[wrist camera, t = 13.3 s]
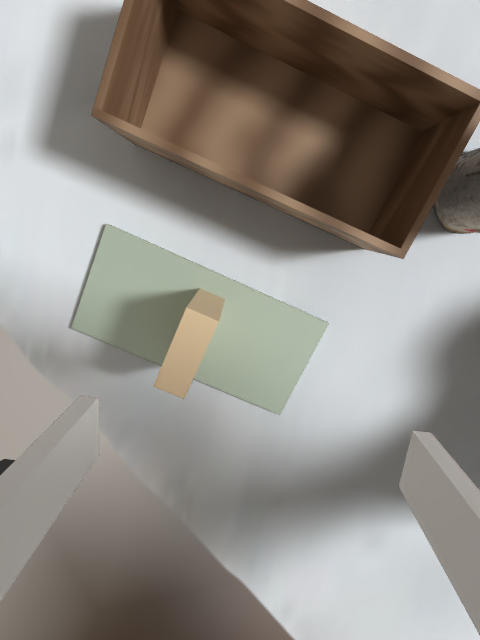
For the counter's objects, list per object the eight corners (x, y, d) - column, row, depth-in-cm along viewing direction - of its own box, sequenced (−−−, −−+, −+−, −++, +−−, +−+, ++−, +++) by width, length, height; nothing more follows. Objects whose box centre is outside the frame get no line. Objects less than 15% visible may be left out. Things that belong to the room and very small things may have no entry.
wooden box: (426, 130, 35) (493, 96, 26) (364, 249, 38) (403, 258, 29) (177, 6, 33) (147, -83, 23) (133, 143, 36) (91, 115, 26)
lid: (326, 320, 41) (351, 352, 31) (279, 409, 44) (287, 464, 34) (110, 223, 39) (63, 225, 29) (76, 325, 42) (23, 357, 32)
